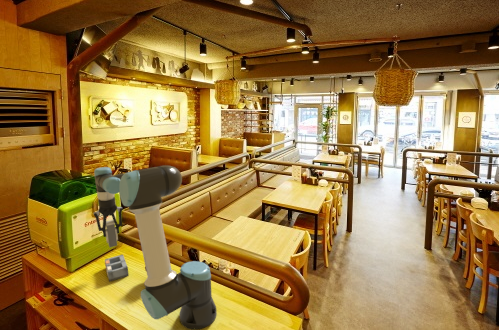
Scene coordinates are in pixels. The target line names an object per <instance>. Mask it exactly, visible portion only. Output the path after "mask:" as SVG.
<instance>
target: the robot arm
mask: <svg viewBox="0 0 499 330" xmlns="http://www.w3.org/2000/svg"><path fill="white" fill-rule="evenodd" d="M93 172H94V173H93V175H94V176H93V177H94V181H95V187H96V194H97V199H98V200H97V201H98V210H97V211H93V213H92V214H93V216H94V217H95V220H96V225H97V229H98V231H99V232H102V234H103V237H104V238H105V239H106V244H109V240H108V233H107V229H106V221H107V217H110V216H111V217H112V220H113V221H114V225H115V233H116V240H117V241H119V236H118V234H120V227H122V226H123V215H122V214H123V213H122V212H123V207H128V210H129V212H131V213H133V214H134V218H135V222H136V227H137V232H138V237H139V240H140V241H139V242H140V246H141V251H142V254H143V255H142V256H143V260H144V265H145V266H146V270H145V272H146V271H147V272H146V275H147V277H146V279H145V281H144V282H143V283H144V289H142V290H140V298H141V301H142V304H143V306H144V308H145V310H146V312H147V313H148V315H149V316H150V317H151V318H152V319H153V320H160V319H163V318H164V317H167V316H168V315H170V314H172V313H174V311H177V310H178V309H180V310H179V322H180V324H181V325H182V327H184V328H186V329H188V330H202V329H205V328H207V327H208V326H210V325H212V324H213V323H214V321H215V320H216V318H217V311H218V310H217V306H216V303H215V301H214V299H213V295H212V274H211V268H210V266H209V265H208V264H207V263H205V262H202V261H199V260H197V261H196V260H193V261H187V262H184V263H183V264H182V265H181V267H180V268H179V271H180V272H178V273H177V271H175V270H173V269H172V266H171V261H170V254H169V251H168V245H167V240H166V235H165V231H164V225H163V221H162V217H161V210H160V208H161V205H162V204H163V197H167V196H170V195H173V194H174V193H175V192H176V191H178V190H179V188H180V187H181V185H182V182H183V177H182V176H183V175H182V174H181V172H180V170H179V169H178V168H176V167H175V166H171V165H158V166H154V167H147V168H142V169H138V170H137V169H135V170H132V171H129V172H125V173H119V174H113V171H112V169H111V167H108V166H104V167H97V168H95V169H94V171H93ZM118 193H119V197H120V200H121V203H122V205H123V207H122V206H117V205H116V198H115V194H118ZM116 211H117V212H118V213H117V214H118V221H117V218H116V216H115V213H116ZM100 214H101V215H102V227H101V222H100V218H99V216H100Z"/></svg>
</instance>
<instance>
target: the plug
mask: <svg viewBox="0 0 499 330" xmlns="http://www.w3.org/2000/svg"><path fill="white" fill-rule="evenodd" d="M115 227H116V226H115V223H114V220H113V219H110V220H106V229H107V233H108V240H109V243H108V246H109V248H112V247H116V246H118V242H117V241H118V240H116V233H115Z"/></svg>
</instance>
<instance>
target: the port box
mask: <svg viewBox="0 0 499 330" xmlns="http://www.w3.org/2000/svg"><path fill="white" fill-rule="evenodd" d="M104 265H105V270H106V274H107V278H108V281H109V283H111V282H113V281H116V280H119V279H122V278H126V277H129V275H130V274H129V269H128V268H129V267H128V264H127V262H126V259H125V256H124V254H120V255H117V256H113V257H108V258H105V259H104Z"/></svg>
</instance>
